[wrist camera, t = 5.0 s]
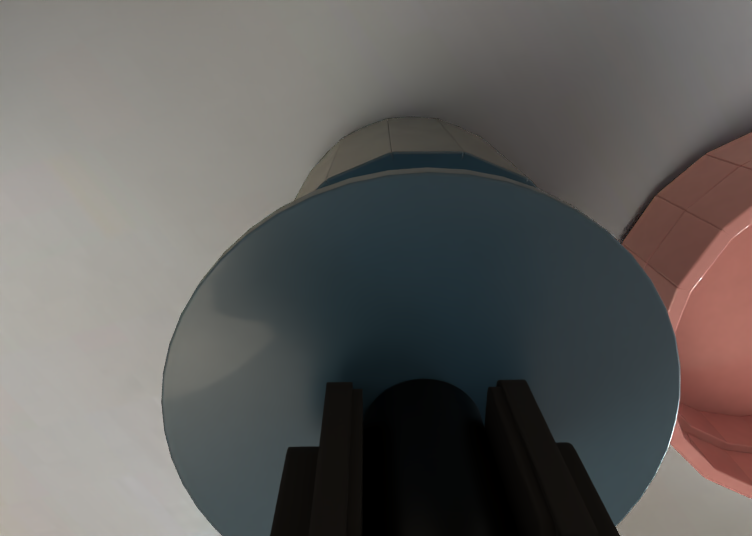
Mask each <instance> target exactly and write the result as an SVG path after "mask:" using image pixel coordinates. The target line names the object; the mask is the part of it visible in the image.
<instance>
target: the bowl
mask: <svg viewBox="0 0 752 536" xmlns="http://www.w3.org/2000/svg"><path fill="white" fill-rule="evenodd" d="M622 245H623V246H624V247H625V248H626V249H627V250H628V251H629V252H630V253H631V254H632V255H633V257H634V258H635V259H636V261H637V262H638V263H639V264H640V266H641V267H642V268H643V270H644V271H645V272H646V274H647V275H648V276H649V278H650V279H651V280H652V282H653V284H654V286H655V288H656V290H657V292H658V293H659V295H660V297H661V299H662V301H663V303H664V305H665V307H666V309H667V312H668V315H669V318H670V321H671V324H672V327H673V330H674V333H675V336H676V341H677V348H678V354H679V360H680V366H681V395H680V402H679V408H678V414H677V421H676V425H675V428H674V431H673V435H672V438H671V441H670V444H671V445H672V446H673V447H674V448H675V449H676V450H677V451H678V452H679V453H680V454H681V455H682V456H683V457H684V458H685V459H686V460H687V461H688V462H689V463H690V464H691V465H692V466H693V467H694V468H695V469H696V470H697V471H698V472H699V473H700V474H701V475H702V476H703V477H705V478H706V479H708V480H710V481H712V482H715V483H717V484H719V485H721V486H724V487H726V488H728V489H730V490H733V491H735V492H737V493H739V494H742V495H744V496H746V497H748V498H751V499H752V132H751V133H749V134H746V135H744V136H742V137H740V138H738V139H736V140H734V141H731V142H729V143H727V144H725V145H723V146H721V147H719V148H716V149H714V150H712V151H710V152H708V153H706V154H705V155H703V156H702V157H701V158H700V159H698V160H697V161H696V162H695V163H694V164H692V165H691V166H690V167H689V168H688V169H686V170H685V171H684V172H683V173H682V174H680V175H679V176H678V177H677V178H676V179H674V180H673V181H672V182H671V183H670V184H668V185H667V186H666V187H665V188H664V189H662V190H661V191H660V192H659V193H658V194H657V196H655V197H654V198H653V199H652V201H651V202H650V204H649V205H648V207H647V208H646V209H645V211H644V212H643V214H642V215H641V217H640V218H639V219H638V221H637V222H636V224H635V225H634V226H633V228H632V229H631V231H630V232H629V234H628V235H627V236H626V238H625V239H624V241H623V243H622Z"/></svg>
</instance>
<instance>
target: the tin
mask: <svg viewBox="0 0 752 536" xmlns="http://www.w3.org/2000/svg"><path fill="white" fill-rule="evenodd" d="M426 167H428V168H446V169H465V170H471V171H476V172H481V173H486V174H492V175H497V176H502V177H506V178H509V179H512V180H515V181H518V182H520V183H523V184H526V185H529V186H532V187H535V188H537V186H536V185H535V184H534V183H533V182H532V181H531V180H530V179H529V178H528V177H527V176H525V175H524V174H523V173H522V172H521V171H520V170H519V169H517V168H516V167H515V166H514V165H513V164H512V163H510V162H509V161H508V160H507V159H506V158H505V157H504V156H502V155H501V154H500V153H499V152H498V151H497V150H495V149H494V148H493V147H492V146H491V145H490V144H488V143H487V142H486V141H485V140H484V139H483V138H481V137H480V136H478V135H475V134H473V133H471V132H468V131H466V130H464V129H462V128H460V127H459V126H456V125H453V124H450V123H448V122H445V121H443V120H440V119H436V118H424V117H401V118H389V119H384V120H382V121H379V122H376V123H373V124H370V125H368V126H365V127H363V128H361V129H359V130H357V131H355V132H353V133H351V134H350V135H348V136H345V137H343V139H341V140H340V141H339V142H338V143H337V144H336V145H335V146H334V147H333V148H332V149H331V150H330V151H328V152H327V153H326V155H325V156H324V157H323V158H322V159H321V161H320V162H319V163H318V164H317V165H316V166H315V167H314V168H313V169H312V170H311V171H310V173H309V174H308V176H307V178H306V180H305V182H304V184H303V185H302V187H301V189H300V191H299V193H298V194H297V196H296V198H295V200H296V199H298V198H300V197H302V196H304V195H306V194H308V193H310V192H312V191H315V190H318V189H320V188H323V187H326V186H329V185H332V184H335V183H338V182H340V181H343V180H346V179H349V178H353V177H358V176H363V175H368V174H373V173H377V172H382V171H387V170H399V169H412V168H426Z"/></svg>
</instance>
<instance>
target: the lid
mask: <svg viewBox="0 0 752 536" xmlns="http://www.w3.org/2000/svg"><path fill="white" fill-rule="evenodd" d="M514 379H524V380H526V382H527V383H528V385H529V387H530V390H531V392H532V394H533V396H534V398H535V400H536V402H537V404H538V406H539V409H540V411H541V413H542V415H543V417H544V419H545V421H546V423H547V425H548V427H549V430H550V432H551V434H552V436H553V438H554V440H555V442H569V443H570V444H572V445H573V447H574V448H575V450H576V452H577V453H578V455H579V457H580V459H581V461H582V463H583V465H584V467H585V469H586V471H587V473H588V475H589V477H590V479H591V481H592V483H593V485H594V486H595V488H596V490H597V492H598V494H599V496H600V498H601V500H602V502H603V504H604V506H605V508H606V510H607V512H608V514H609V516H610V517H611V519H612V521H613V523H614V525H615V526H616V525H618V524H619V523H620V522H621V521H622V520H623V519H624V517H625V516H626V515H627V514H628V513H629V511H630V510H631V509H632V508H633V507H634V506H635V504H636V503H637V502H638V501H639V500H640V498H641V497H642V495H643V494H644V492H645V491H646V489H647V488H648V486H649V485H650V483H651V481H652V480H653V478H654V477H655V475H656V473H657V471H658V469H659V467H660V465H661V463H662V461H663V459H664V457H665V454H666V452H667V450H668V447H669V444H670V441H671V438H672V435H673V431H674V428H675V425H676V421H677V414H678V408H679V402H680V395H681V366H680V360H679V354H678V348H677V341H676V336H675V333H674V330H673V327H672V324H671V321H670V318H669V315H668V312H667V309H666V307H665V305H664V303H663V301H662V299H661V297H660V295H659V293H658V292H657V290H656V288H655V286H654V284H653V282H652V280H651V279H650V278H649V276H648V275H647V274H646V272H645V271H644V270H643V268H642V267H641V266H640V264H639V263H638V262H637V261H636V259H635V258H634V257H633V255H632V254H631V253H630V252H629V251H628V250H627V249H626V248H625V247H624V246H623V245H622V244H621V243H619V242H618V241H617V240H616V239H615V238H614V237H613V236H612V235H611V234H610V233H609V232H608V231H607V230H606V229H604V228H603V227H602V226H600V225H599V224H598V223H596V222H595V221H593V220H592V219H591V218H589V217H588V216H586V215H585V214H583V213H582V212H580V211H579V210H578V209H576V208H575V207H573V206H572V205H570V204H568V203H566V202H564V201H562V200H560V199H558V198H556V197H554V196H552V195H550V194H548V193H546V192H544V191H542V190H540V189H538V188H535V187H532V186H529V185H526V184H523V183H520V182H518V181H515V180H512V179H509V178H506V177H502V176H497V175H492V174H486V173H481V172H476V171H471V170H465V169H446V168H428V167H426V168H412V169H399V170H387V171H382V172H377V173H373V174H368V175H363V176H358V177H353V178H349V179H346V180H343V181H340V182H338V183H335V184H332V185H329V186H326V187H323V188H320V189H318V190H315V191H312V192H310V193H308V194H306V195H304V196H302V197H300V198H298V199H296V200H294V201H292V202H290V203H289V204H287V205H285V206H283V207H281V208H279V209H278V210H276V211H275V212H273V213H272V214H270V215H269V216H267V217H266V218H264V219H263V220H262V221H260V222H259V223H257V224H256V225H254V226H253V227H251V228H250V229H249V230H248V231H247V232H246V233H245V234H243V235H242V236H241V237H240V238H239V239H238V240H237V241H236V242H235V243H234V244H233V245H231V246H230V247H229V248H228V249H227V250H226V251H225V252H224V253H223V254H222V256H221V257H220V258H219V259H218V260H217V262H216V263H215V264H214V265H213V267H212V268H211V269H210V270H209V272H208V273H207V274H206V275H205V276H204V278H203V279H202V280H201V282H200V283H199V285H198V286H197V288H196V290H195V291H194V293H193V295H192V296H191V298H190V300H189V302H188V303H187V305H186V307H185V308H184V310H183V312H182V313H181V316H180V318H179V321H178V323H177V326H176V328H175V331H174V333H173V336H172V338H171V341H170V344H169V348H168V353H167V357H166V362H165V366H164V371H163V383H162V400H161V403H162V413H163V422H164V432H165V435H166V439H167V443H168V447H169V451H170V454H171V458H172V461H173V463H174V465H175V467H176V470H177V472H178V474H179V477H180V479H181V481H182V484H183V485H184V487H185V488H186V490H187V492H188V493H189V495H190V497H191V498H192V500H193V501H194V503H195V505H196V506H197V508H198V509H199V510H200V511H201V513H202V514H203V515H204V516H205V517H206V519H207V520H208V521H209V522H210V523H211V525H212V526H213V527H214V528H215V529H216V530H217V531H218V532H219V533H220V534H221V535H222V536H270V533H271V528H272V523H273V518H274V513H275V508H276V503H277V498H278V493H279V488H280V482H281V477H282V472H283V467H284V462H285V457H286V453H287V449H288V447H310V446H319V443H320V434H321V426H322V417H323V409H324V400H325V392H326V384H327V382H352V383H353V389H363V536H518V534H517V531H516V527H515V524H514V521H513V518H512V515H511V511H510V508H509V505H508V502H507V498H506V495H505V492H504V489H503V485H502V482H501V479H500V476H499V473H498V469H497V466H496V463H495V460H494V456H493V453H492V450H491V447H490V444H489V440H488V437H487V434H486V431H485V427H484V426H485V414H486V401H487V391H488V387H496V384H497V381H498V380H514Z"/></svg>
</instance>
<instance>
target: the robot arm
mask: <svg viewBox="0 0 752 536" xmlns="http://www.w3.org/2000/svg"><path fill="white" fill-rule="evenodd" d="M484 427H485V431H486V434H487V437H488V440H489V444H490V447H491V450H492V453H493V456H494V460H495V463H496V466H497V469H498V473H499V476H500V479H501V482H502V485H503V489H504V492H505V495H506V498H507V502H508V505H509V508H510V511H511V515H512V518H513V521H514V524H515V527H516V531H517V534H518V536H620V535H619V533H618V531H617V529H616V527H615V525H614V523H613V521H612V519H611V517H610V516H609V514H608V512H607V510H606V508H605V506H604V504H603V502H602V500H601V498H600V496H599V494H598V492H597V490H596V488H595V486H594V485H593V483H592V481H591V479H590V477H589V475H588V473H587V471H586V469H585V467H584V465H583V463H582V461H581V459H580V457H579V455H578V453H577V452H576V450H575V448H574V447H573V445H572V444H570V443H569V442H555V440H554V438H553V436H552V434H551V432H550V430H549V427H548V425H547V423H546V421H545V419H544V417H543V415H542V413H541V411H540V409H539V406H538V404H537V402H536V400H535V398H534V396H533V394H532V392H531V390H530V387H529V385H528V383H527V382H526V380H524V379H514V380H498V381H497V384H496V387H488V391H487V401H486V414H485V426H484ZM270 536H363V389H353V383H352V382H327V384H326V392H325V400H324V409H323V417H322V426H321V434H320V443H319V446H310V447H288V449H287V453H286V457H285V462H284V467H283V472H282V477H281V482H280V488H279V493H278V498H277V503H276V508H275V513H274V518H273V523H272V528H271V533H270Z"/></svg>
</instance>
